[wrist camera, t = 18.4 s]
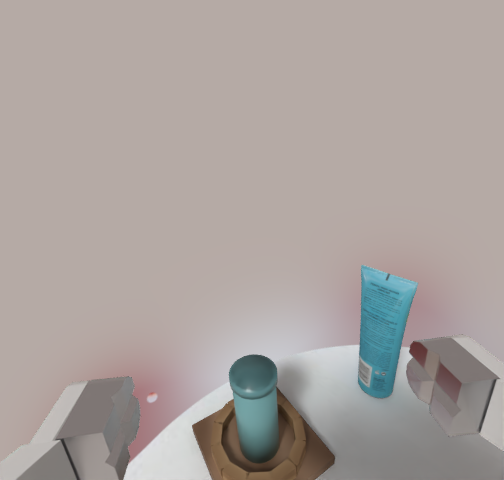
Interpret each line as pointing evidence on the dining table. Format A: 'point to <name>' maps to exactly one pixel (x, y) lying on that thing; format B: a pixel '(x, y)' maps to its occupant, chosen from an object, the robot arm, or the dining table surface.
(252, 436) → the teal rimmed peg
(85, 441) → the robot arm
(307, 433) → the collar base
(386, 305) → the tube
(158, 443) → the dining table surface
